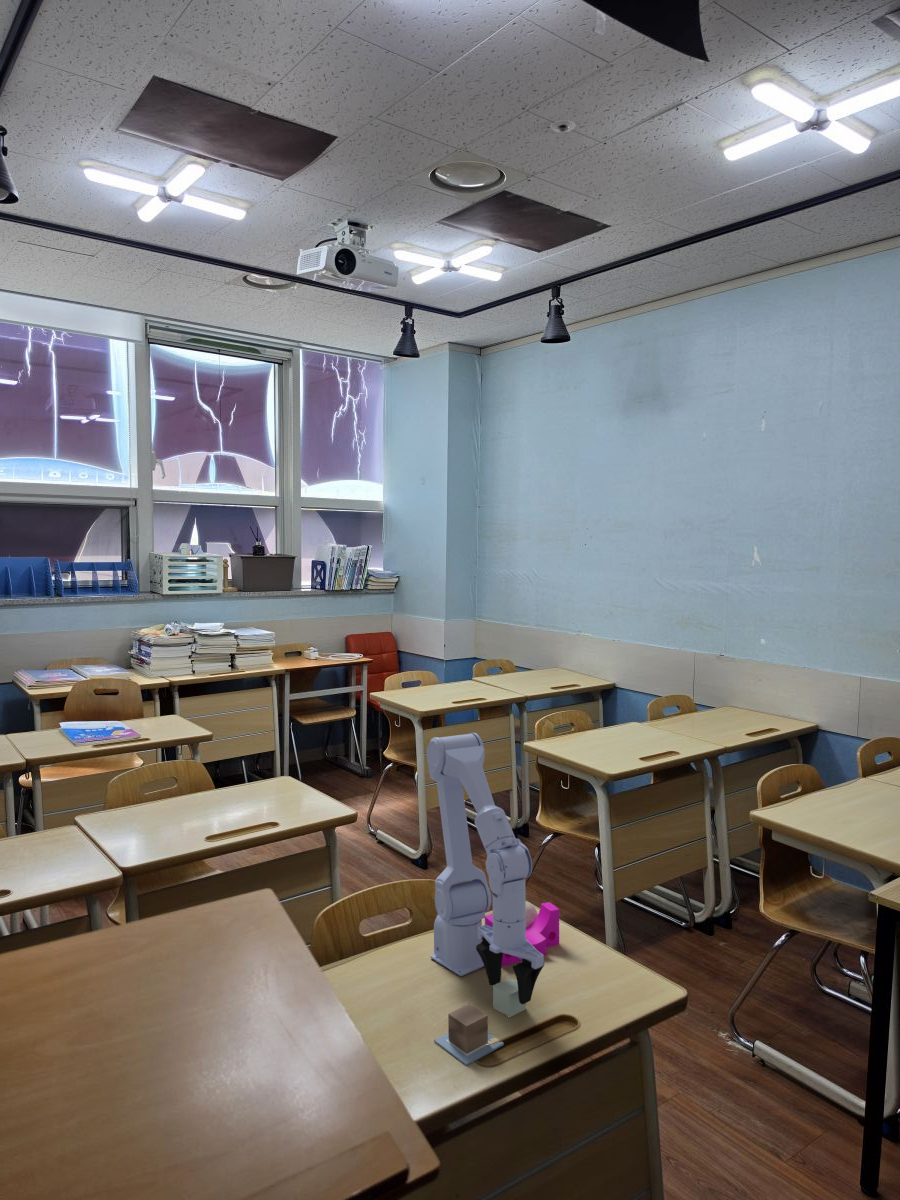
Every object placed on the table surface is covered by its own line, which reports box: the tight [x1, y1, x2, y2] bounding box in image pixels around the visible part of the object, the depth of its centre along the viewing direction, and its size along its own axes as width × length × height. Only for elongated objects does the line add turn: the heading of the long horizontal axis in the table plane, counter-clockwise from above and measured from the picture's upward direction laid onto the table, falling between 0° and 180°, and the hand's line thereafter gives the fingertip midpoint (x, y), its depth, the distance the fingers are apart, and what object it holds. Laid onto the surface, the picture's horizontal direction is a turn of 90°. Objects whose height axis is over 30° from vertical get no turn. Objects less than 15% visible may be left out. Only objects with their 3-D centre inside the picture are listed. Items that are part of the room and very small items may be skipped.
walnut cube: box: [447, 1003, 489, 1054], centre depth 127 cm, size 4×4×4 cm
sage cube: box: [492, 977, 527, 1018], centre depth 137 cm, size 4×4×4 cm
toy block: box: [484, 901, 560, 967], centre depth 157 cm, size 15×6×8 cm, turn 115°
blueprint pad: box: [433, 1032, 505, 1066], centre depth 128 cm, size 8×8×1 cm
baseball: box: [526, 900, 538, 928], centre depth 165 cm, size 7×7×7 cm
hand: (509, 992), depth 137 cm, fingers open, 7 cm apart
